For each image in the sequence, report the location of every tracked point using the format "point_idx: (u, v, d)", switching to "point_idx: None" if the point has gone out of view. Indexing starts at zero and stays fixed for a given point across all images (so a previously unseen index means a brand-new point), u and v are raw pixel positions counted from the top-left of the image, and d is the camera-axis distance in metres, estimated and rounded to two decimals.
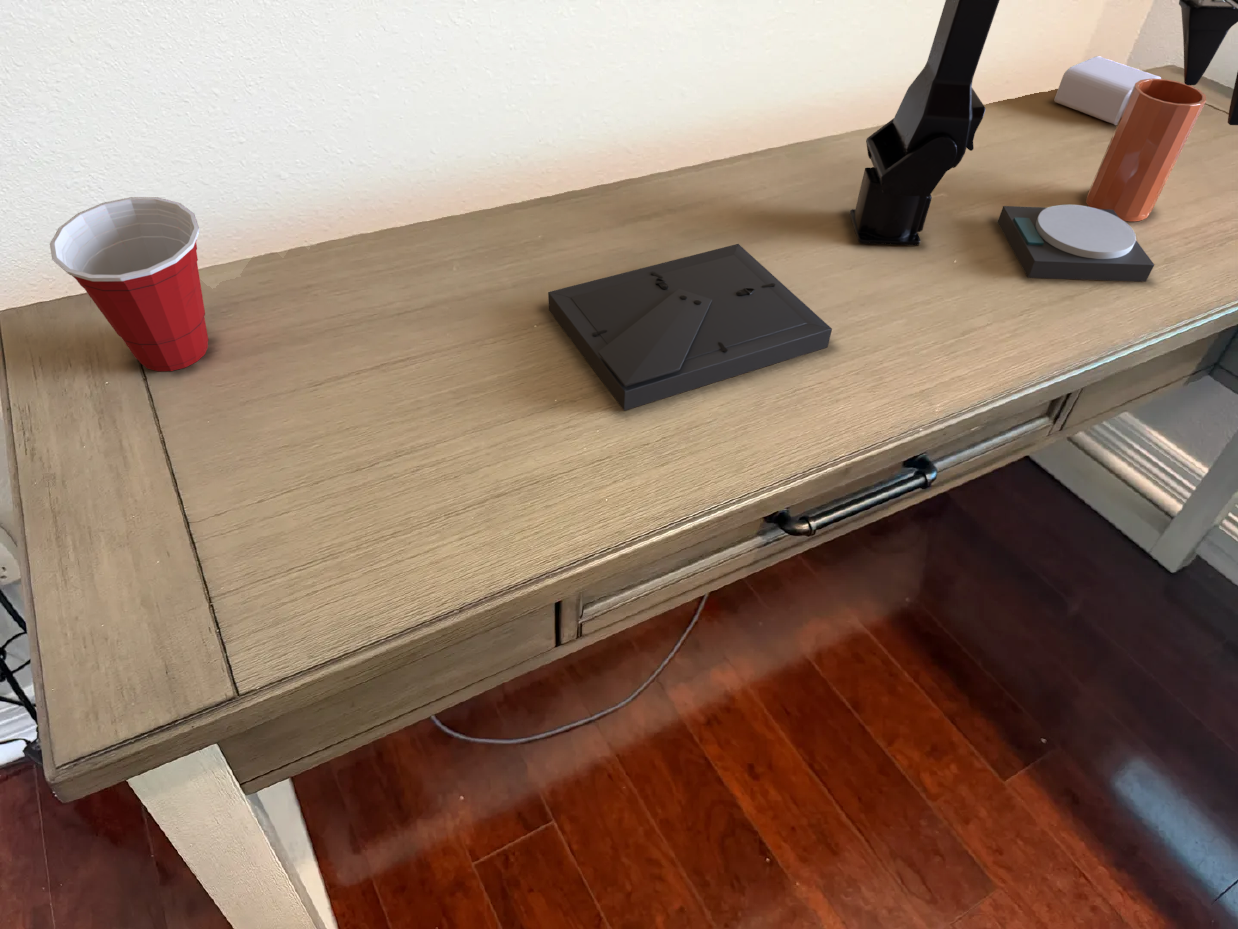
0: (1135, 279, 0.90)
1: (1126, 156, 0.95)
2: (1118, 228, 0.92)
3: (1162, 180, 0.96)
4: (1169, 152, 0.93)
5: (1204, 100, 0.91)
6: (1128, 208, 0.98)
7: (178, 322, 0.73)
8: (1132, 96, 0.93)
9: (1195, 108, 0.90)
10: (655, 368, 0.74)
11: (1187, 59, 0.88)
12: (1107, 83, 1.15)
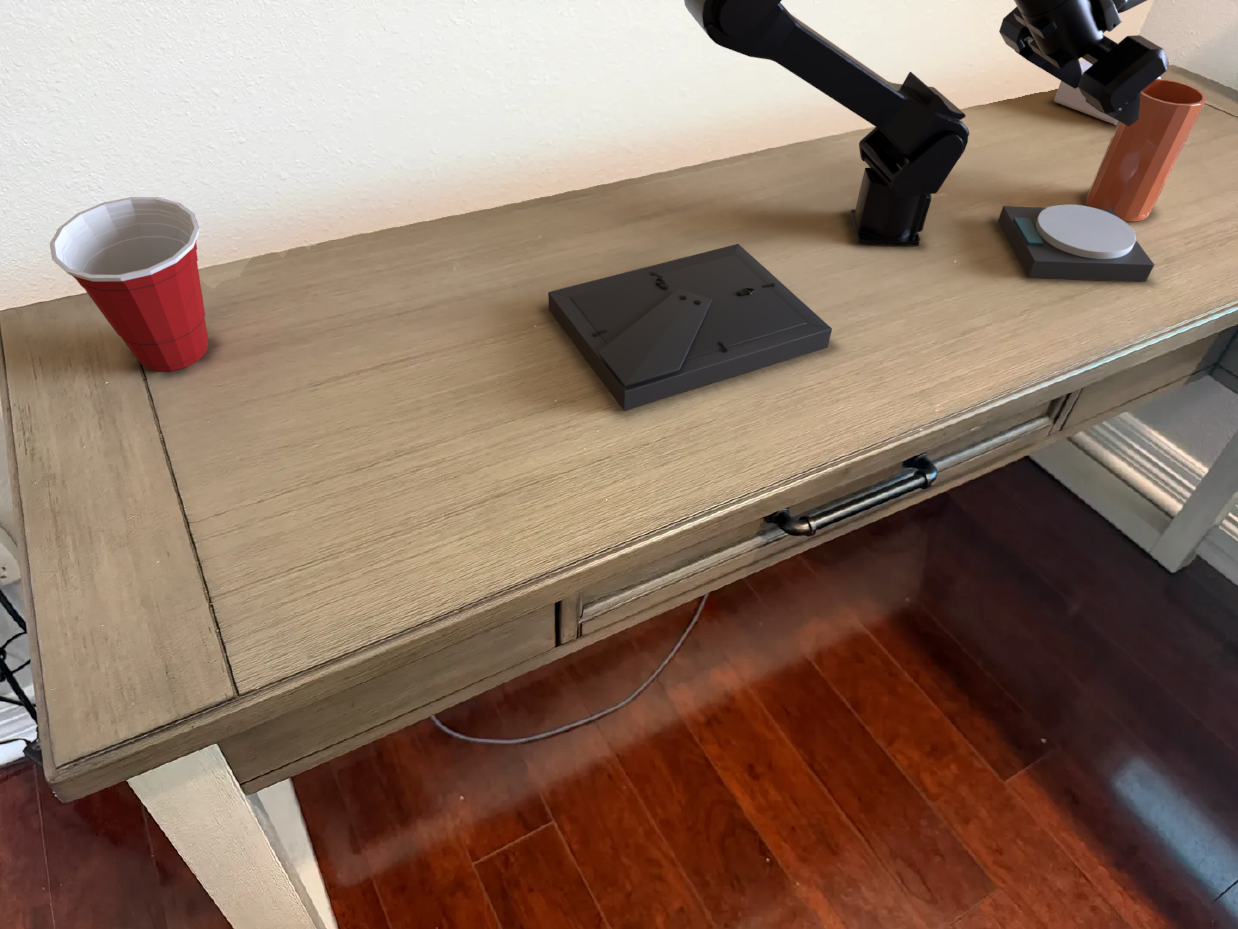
0: (1135, 279, 0.90)
1: (1126, 156, 0.95)
2: (1118, 228, 0.92)
3: (1162, 180, 0.96)
4: (1169, 152, 0.93)
5: (1204, 100, 0.91)
6: (1128, 208, 0.98)
7: (178, 322, 0.73)
8: None
9: (1195, 108, 0.90)
10: (655, 368, 0.74)
11: (1059, 79, 0.93)
12: None
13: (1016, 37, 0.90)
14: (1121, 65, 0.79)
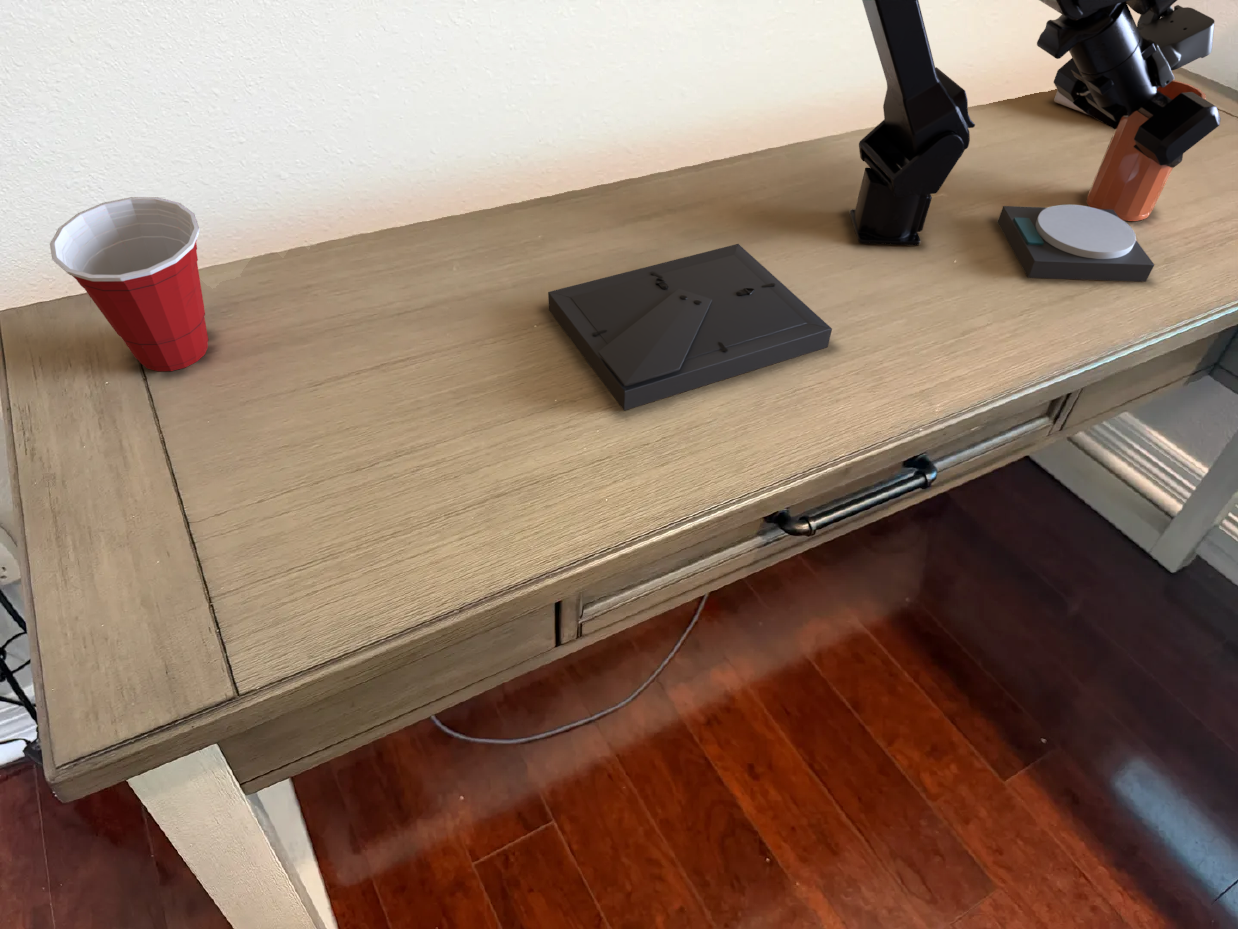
0: (1135, 279, 0.90)
1: (1126, 155, 0.95)
2: (1118, 228, 0.92)
3: (1162, 179, 0.96)
4: None
5: None
6: (1129, 207, 0.98)
7: (178, 322, 0.73)
8: None
9: None
10: (655, 368, 0.74)
11: None
12: None
13: (1071, 88, 0.96)
14: (1176, 121, 0.85)
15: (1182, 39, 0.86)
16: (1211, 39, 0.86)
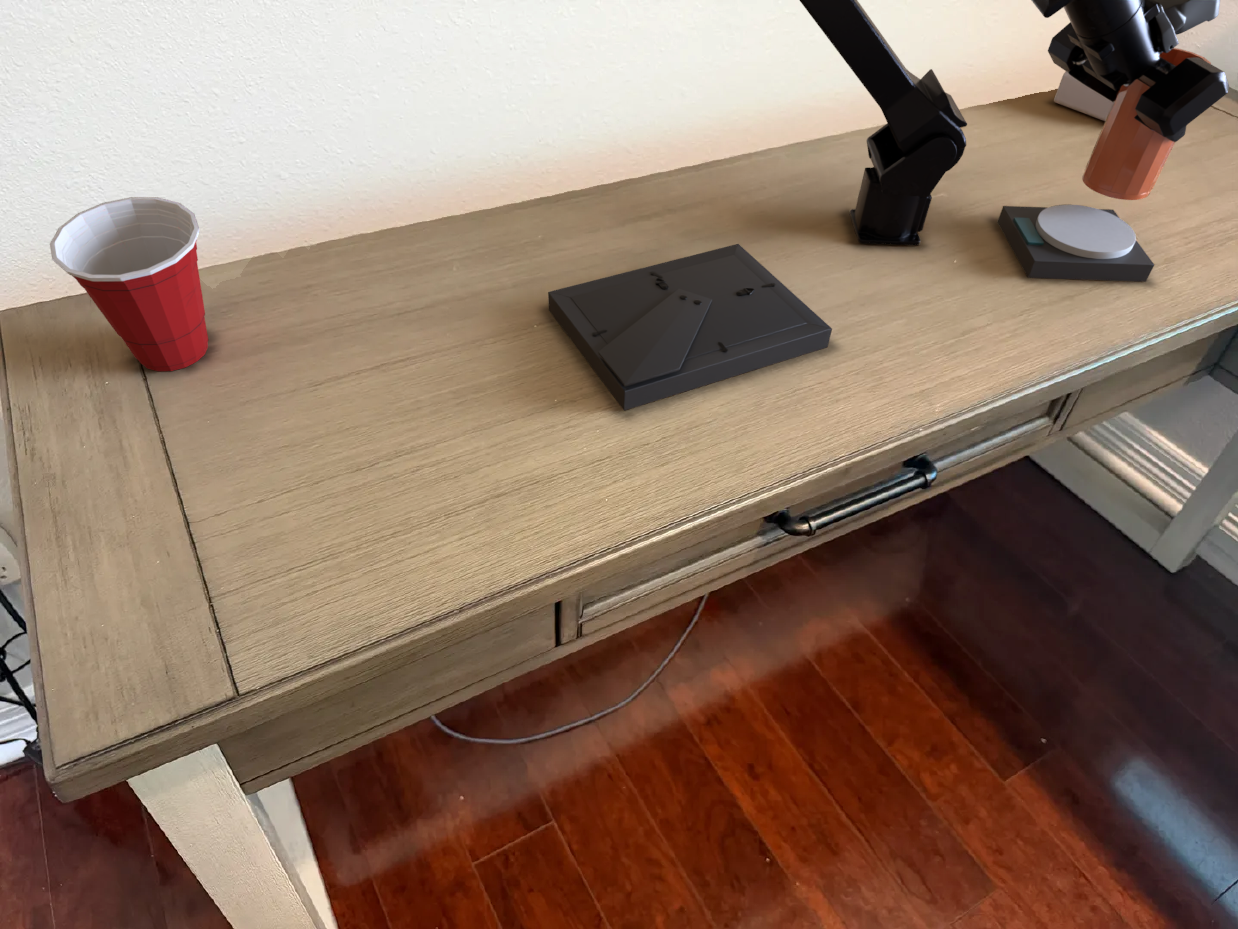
0: (1135, 279, 0.90)
1: (1125, 128, 0.88)
2: (1118, 228, 0.92)
3: (1164, 155, 0.89)
4: None
5: None
6: (1128, 185, 0.91)
7: (178, 322, 0.73)
8: None
9: None
10: (655, 368, 0.74)
11: None
12: None
13: (1066, 57, 0.89)
14: (1181, 88, 0.79)
15: (1187, 0, 0.79)
16: (1218, 0, 0.80)
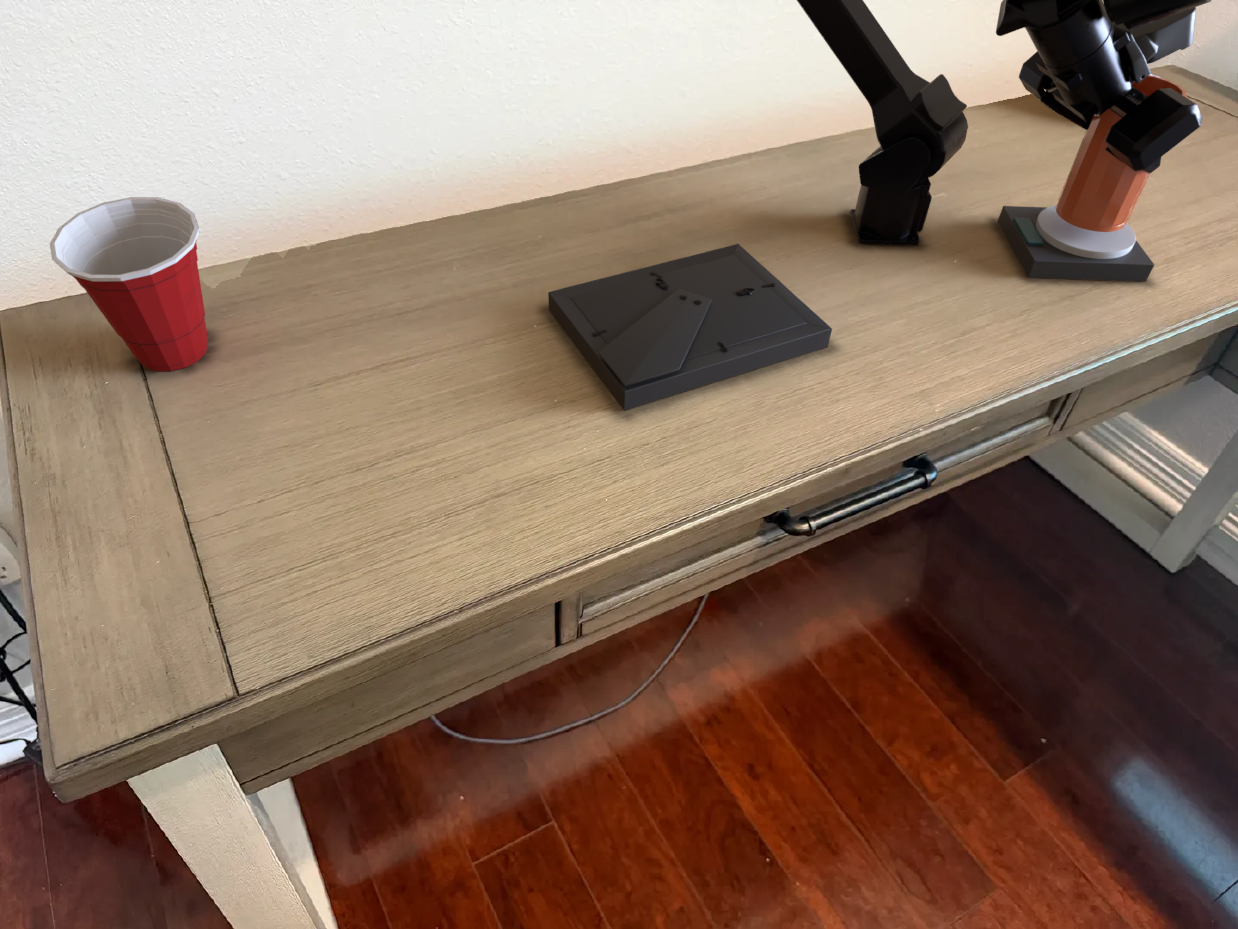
0: (1135, 279, 0.90)
1: (1098, 159, 0.85)
2: None
3: (1138, 186, 0.86)
4: None
5: (1184, 96, 0.81)
6: (1101, 217, 0.88)
7: (178, 322, 0.73)
8: None
9: None
10: (655, 368, 0.74)
11: None
12: None
13: (1037, 84, 0.86)
14: (1152, 121, 0.75)
15: (1159, 28, 0.76)
16: (1192, 28, 0.76)
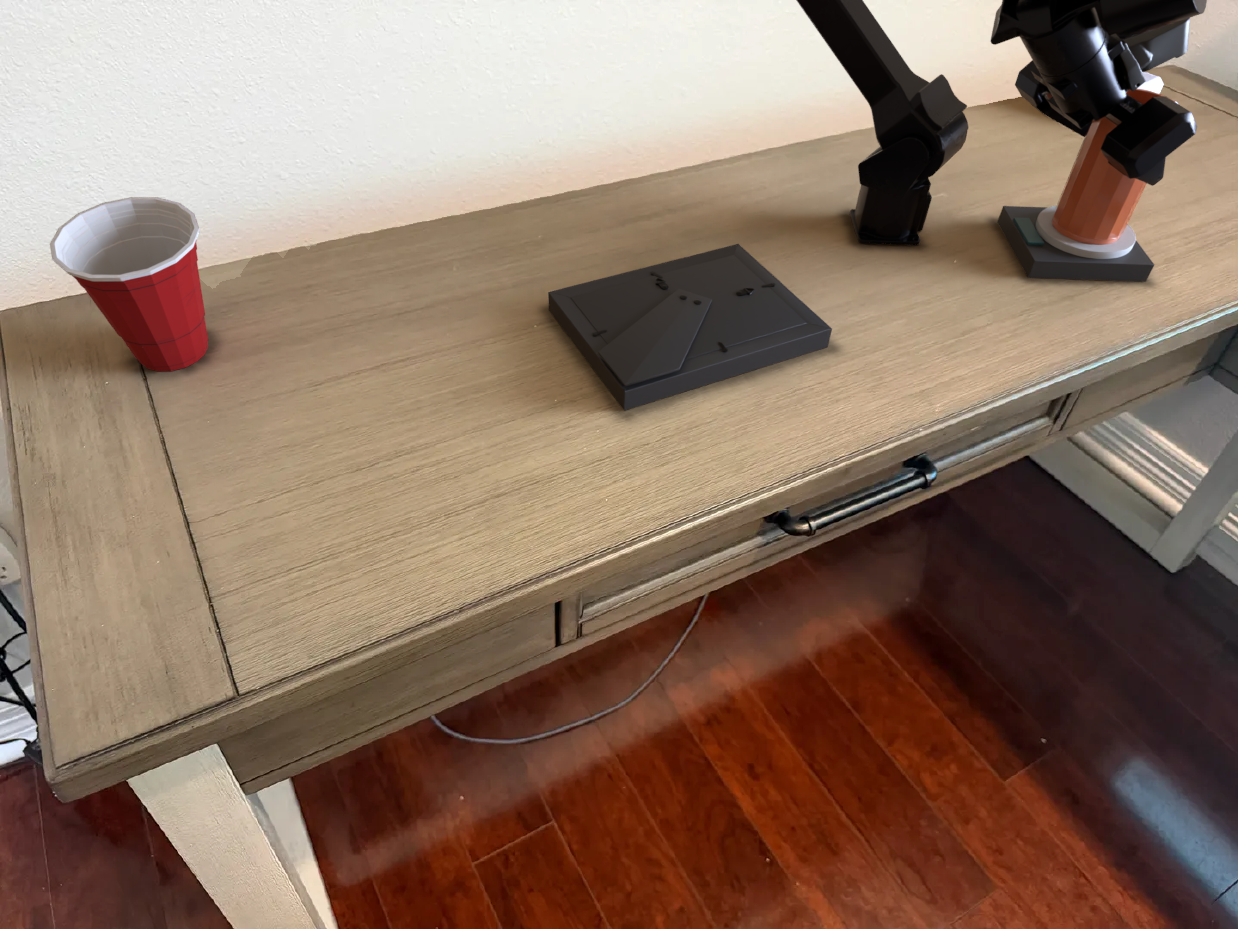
0: (1135, 279, 0.90)
1: (1093, 173, 0.86)
2: None
3: (1133, 200, 0.87)
4: None
5: None
6: (1097, 230, 0.89)
7: (178, 322, 0.73)
8: None
9: None
10: (655, 368, 0.74)
11: (1078, 133, 0.89)
12: None
13: (1033, 92, 0.86)
14: (1147, 129, 0.75)
15: (1154, 37, 0.76)
16: (1186, 37, 0.77)
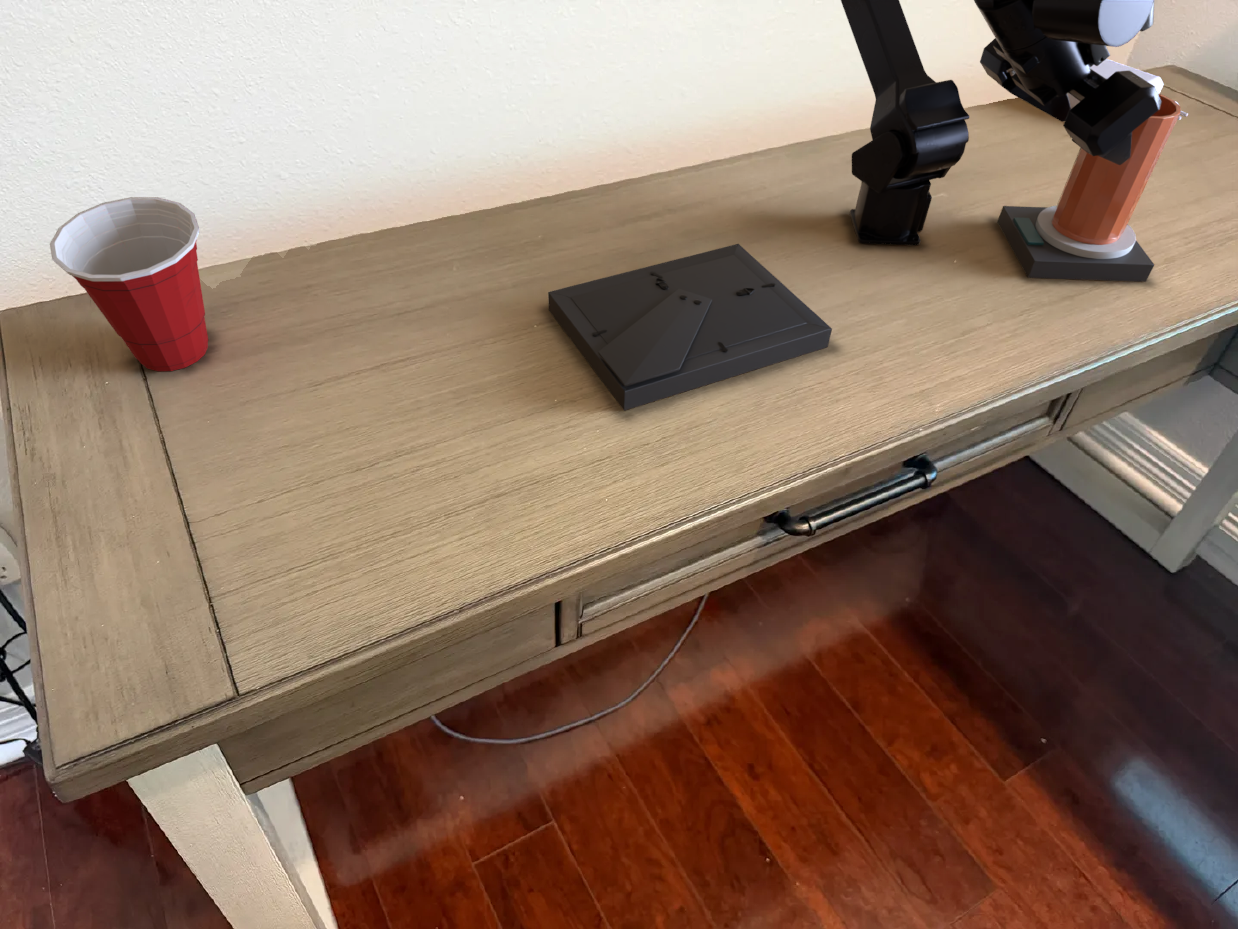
0: (1135, 279, 0.90)
1: (1093, 173, 0.86)
2: None
3: (1133, 200, 0.87)
4: (1140, 169, 0.84)
5: (1178, 112, 0.81)
6: (1097, 230, 0.89)
7: (178, 322, 0.73)
8: None
9: (1168, 121, 0.81)
10: (655, 368, 0.74)
11: (1045, 112, 0.87)
12: None
13: (998, 69, 0.84)
14: (1109, 104, 0.73)
15: None
16: (1152, 9, 0.74)
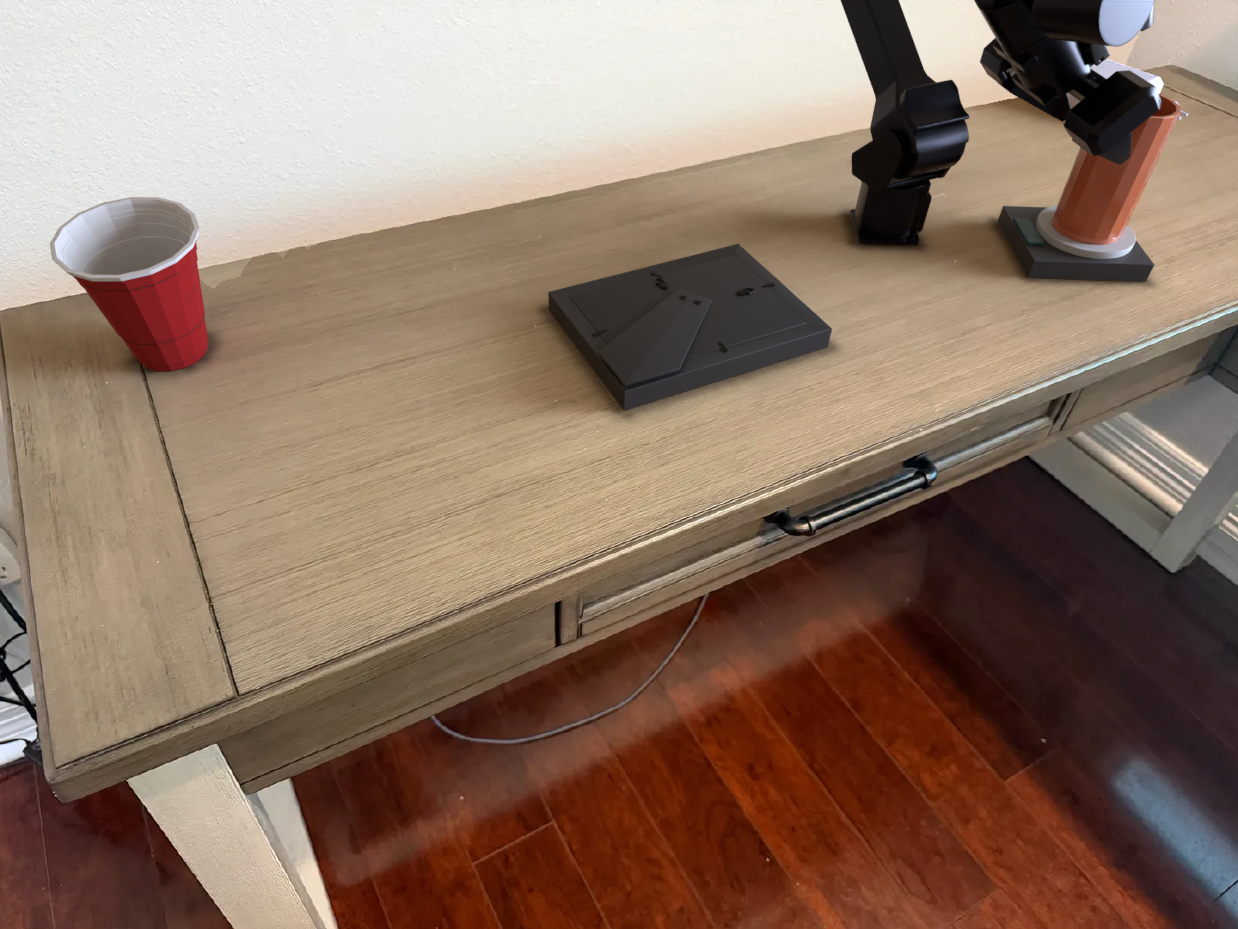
0: (1135, 279, 0.90)
1: (1093, 173, 0.86)
2: None
3: (1133, 200, 0.87)
4: (1140, 169, 0.84)
5: (1178, 112, 0.81)
6: (1097, 230, 0.89)
7: (178, 322, 0.73)
8: None
9: (1168, 121, 0.81)
10: (655, 368, 0.74)
11: (1045, 112, 0.87)
12: None
13: (998, 69, 0.84)
14: (1109, 104, 0.73)
15: None
16: (1152, 9, 0.74)
